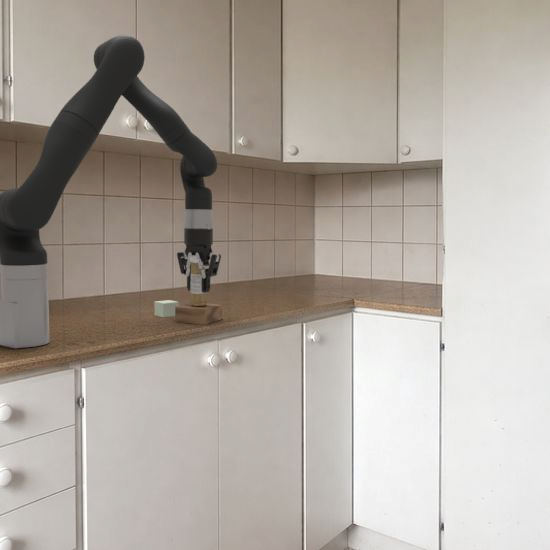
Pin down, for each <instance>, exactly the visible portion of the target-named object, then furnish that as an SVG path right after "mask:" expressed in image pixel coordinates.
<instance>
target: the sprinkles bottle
mask: <svg viewBox="0 0 550 550" xmlns="http://www.w3.org/2000/svg"><path fill="white" fill-rule="evenodd" d="M190 262H191V281H190V291H189V292H190V302H189V304H191V305H193V306H205V305H207V304H208V301H207V297H208V296H207V293H208V292H206V293H204V292H202V278H203V277H202V273H201V270H200V269H199V266H198V259H197V257H196V255H192V256H191V259H190ZM204 266H207V264H206V265H204ZM205 270H206V269H205Z"/></svg>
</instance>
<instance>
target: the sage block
mask: <svg viewBox="0 0 550 550" xmlns="http://www.w3.org/2000/svg"><path fill="white" fill-rule="evenodd" d="M153 304H154V305H153V307H154V316H155V317H160V318H170V317H175V307H177V306H180V302H179V301H176V300H171V299H168V300H165V299H164V300H158V301H157V300H156V301H154V303H153Z"/></svg>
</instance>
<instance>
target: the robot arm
mask: <svg viewBox="0 0 550 550" xmlns="http://www.w3.org/2000/svg"><path fill="white" fill-rule="evenodd" d="M93 64H94V66H95V69H96V70H95V72H94V74H93V75H92V76H91V77H90V79H89V80H88V81H87V82H86V83H85V84H83V86H82V87H81V88H80V89H79V90H77V92H75V94H74V95H73V96H72V97H70V99H69V100H68V101H67V102H66V103H65V104H64V106H63V107H62V108H61V109H60V111H59V113H58V114H57V116H56V117H55V119H54V120H53V121H52V123H51V124H50V127H49V129H48V131H47V133H46V136H45V138H44V142H43V146H42V150H41V154H40V157H39V160H38V162H37V164H36V166H35V167H34V169H32V172H31V173H30V174H29V175H28V176H27V178H26V179H25V181H24V182H23V183H21V185H20V186H19V187H15V188H14V187H13V188H10V189H7V190H4V191H3V192H1V194H0V293H1V299H0V346H2V347H6V348H11V349H20V348H31V347H32V348H34V347H39V346H43V345H47V344H49V343H50V316H49V315H50V312H49V283H48V282H49V279H48V277H49V276H48V275H49V274H48V272H49V271H48V252H47V250H46V249H45V247H44V246H43V244H42V242H41V238H40V235H41V234H40V230H41V229H43V228H44V227H46V225H48V223H49V222H50V220H51V218H52V216H53V214H54V212H55V210H56V208H57V206H58V203H59V201H60V199H61V197H62V195H63V193H64V192H65V189H66V187H67V185H68V184H69V182H70V180H71V178H72V177H73V175H74V174H75V173H76V171H77V170H78V168H79V166H80V165H81V163H82V162H83V161H84V159H85V157H86V155H87V154H88V153H89V151H90V149H91V148H92V146H93V145H94V144H95V141H96V140H97V138H98V136H100V135H99V134H100V133H101V131H102V130H103V128H104V126H105V124H106V123H107V121H108V120H109V117H110V116H111V114H112V112H113V111H114V109H115V107H116V105H117V103H118V101H119V100H120V98H121V97H123V98H124V99H125V100H126V101H128V103H129V104H130V105H132V107H133V108H134V109H135V110H137V112H138V113H139V114H140V115H141V116H142V117H143V119H145V121H147V123H149V125H150V126H151V127H152V129H153V130H154V131H155V132H156V134H157V135H158V136H159V137H160V138H161V140H162V141H163V143H164V144H165V145H166V146H167V148H168V149H169V150H171V151H173V152H175V153H179V154H180V155H182V157H181V160H180V163H179V173H180V176H181V177H180V178H181V182H182V186H183V189H184V193H185V194H184V195H185V196H184V200H185V201H184V205H185V207H184V219H183V221H184V224H183V229H184V230H183V231H184V234H183V236H184V237H183V239H184V245H186V246H185V248H184V249H185V250H183V251H180V252H177V254H176V256H177V261H178V267H179V271H180V274H182V275H184V276H186V288H187V290H188V292H190V281H191V262H190V259H191V256H192V255H196V257H197V259H198V266H199V269H200V270H201V273H202V277H203V278H202V292H204V293H206V292H207V293H209V292H210V290H211V278H212V277H216V276H217V275H218V271H219V267H220V263H221V258H222V255H221V254H220V253H215V252H213V249H212V245H213V244H214V215H213V193H212V190H211V189H210V188H209V187H207V186H206V184H205V181H204V178H207V177H210V176H212V175H214V174H215V172H216V171H217V169H218V160H217V158H216V157H217V156H216V155H215V153H214V152H213V150H212V149H211V148H210V147H209V146H208V145H207V144H206V143H205V142H204V141H202V139H200V138H199V137H198V136H197V135H196V134H194V133H193V132H192V131H191V130H190V128H189V127H188V126H187V124H186V123H185V121H184V120H183V118H182V117H181V116H180V115H179V113H178V112H176V110H175V109H174V108H173V107H172V106H170V105H169V104H168V103H166V101H164V100H163V99H161V98H160V97H159V96H157V95H156V94H155V93H153V92H152V91H151V90H150V89H149V88H148V87H147V86H146V85H145V84H144V83H143V82H142V80H141V79H140V78H139V77H138V75H139V74H140V73H141V71H143V70H142V69H143V67H144V64H145V51H144V47H143V45H142V44H141V42H140V41H139V40H138V39H137V38H136V37H133V36H132V35H129V34H128V35H126V34H121V35H116V36H114V37H111V38H110V39H107V40H106V41H104V42H103V43H101V44H100V45H98V46H97V47H96V49H95V50H94V53H93ZM206 264H207V266H204V265H206ZM205 269H206V270H205Z"/></svg>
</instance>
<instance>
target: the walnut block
mask: <svg viewBox="0 0 550 550" xmlns="http://www.w3.org/2000/svg"><path fill="white" fill-rule="evenodd" d="M174 317H175V318H174V319H175V320H174V321H175V323H184V324H192V325H193V324H194V325H203V326H204V325H208V324H212V323H216V322H218V320H219V321H221V319H222V320H223V304H216V303H207V305H205V306H193V305H191V304H190V303H186V304H182V305H179V306H177V307H175V316H174Z"/></svg>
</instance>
